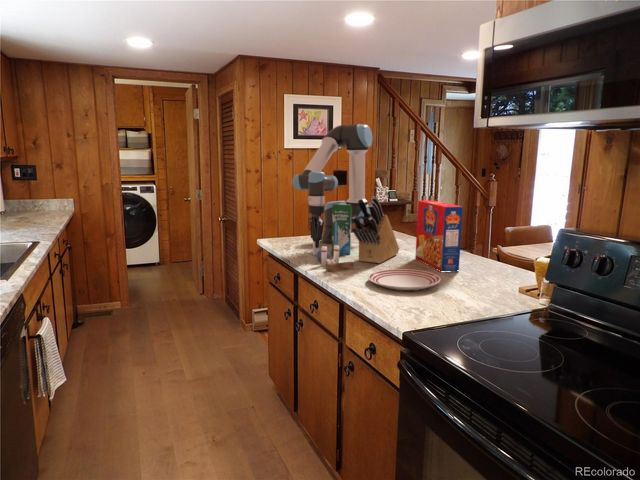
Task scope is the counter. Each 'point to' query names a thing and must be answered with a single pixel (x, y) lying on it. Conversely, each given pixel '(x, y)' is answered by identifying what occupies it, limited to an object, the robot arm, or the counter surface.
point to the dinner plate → (404, 279)
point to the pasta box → (439, 234)
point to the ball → (320, 255)
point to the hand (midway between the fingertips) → (316, 254)
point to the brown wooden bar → (339, 266)
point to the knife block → (374, 234)
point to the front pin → (329, 261)
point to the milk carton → (341, 228)
